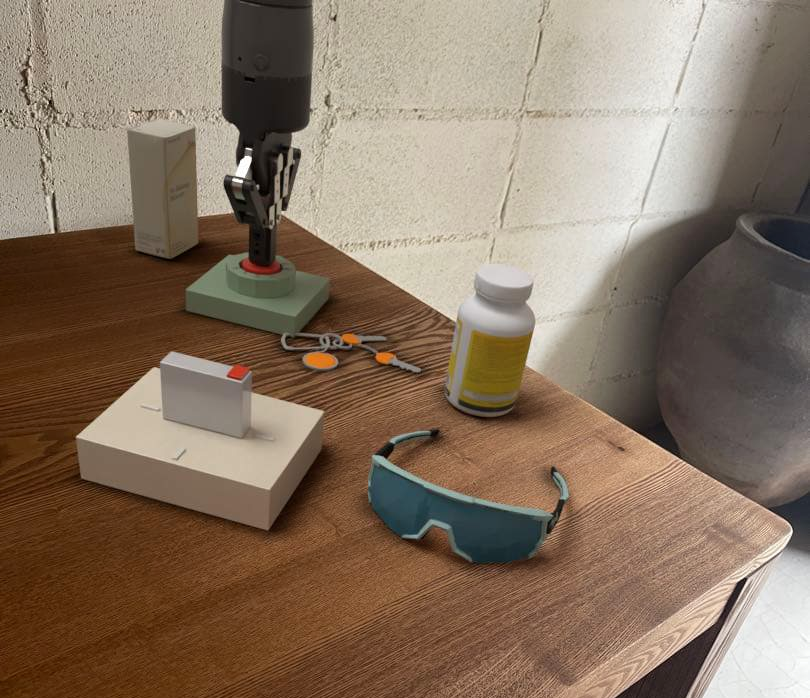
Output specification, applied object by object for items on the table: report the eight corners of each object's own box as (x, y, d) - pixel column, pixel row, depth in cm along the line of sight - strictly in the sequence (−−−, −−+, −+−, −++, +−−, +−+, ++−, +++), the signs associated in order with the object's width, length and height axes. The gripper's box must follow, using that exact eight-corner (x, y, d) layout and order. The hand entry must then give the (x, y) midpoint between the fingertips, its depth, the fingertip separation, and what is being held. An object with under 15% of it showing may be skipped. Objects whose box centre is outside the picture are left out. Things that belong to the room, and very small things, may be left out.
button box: (185, 311, 82) (184, 270, 80) (229, 274, 90) (229, 236, 87) (294, 338, 81) (296, 298, 78) (328, 298, 88) (331, 261, 86)
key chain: (281, 369, 76) (281, 360, 76) (280, 331, 82) (280, 323, 81) (422, 378, 78) (423, 369, 78) (412, 340, 84) (413, 332, 83)
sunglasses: (337, 522, 60) (348, 459, 57) (410, 447, 72) (421, 392, 70) (530, 591, 57) (550, 528, 55) (571, 500, 69) (589, 445, 67)
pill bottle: (526, 419, 75) (558, 292, 68) (456, 422, 73) (482, 292, 66) (499, 381, 80) (526, 259, 72) (433, 383, 78) (455, 258, 70)
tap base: (80, 478, 60) (75, 434, 58) (156, 405, 69) (153, 364, 66) (268, 531, 59) (270, 487, 56) (321, 449, 67) (325, 409, 65)
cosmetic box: (170, 261, 90) (165, 138, 83) (132, 251, 91) (124, 128, 83) (200, 243, 95) (198, 125, 87) (164, 233, 96) (159, 116, 88)
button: (235, 283, 83) (236, 265, 81) (250, 270, 85) (250, 252, 84) (271, 291, 82) (271, 273, 81) (284, 278, 85) (285, 261, 84)
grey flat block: (162, 418, 61) (159, 358, 58) (173, 406, 62) (171, 347, 59) (241, 438, 60) (242, 379, 57) (251, 426, 62) (252, 367, 59)
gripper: (256, 41, 77) (252, 233, 88) (190, 65, 67) (195, 278, 78) (335, 58, 76) (321, 249, 87) (280, 85, 66) (272, 297, 77)
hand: (261, 262), depth 83 cm, fingers closed
